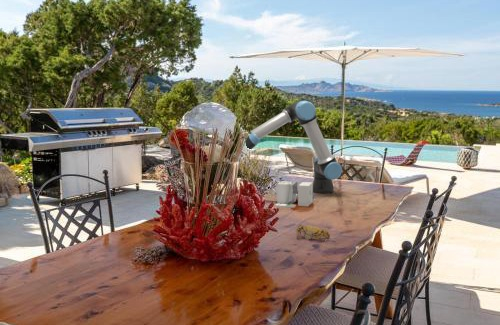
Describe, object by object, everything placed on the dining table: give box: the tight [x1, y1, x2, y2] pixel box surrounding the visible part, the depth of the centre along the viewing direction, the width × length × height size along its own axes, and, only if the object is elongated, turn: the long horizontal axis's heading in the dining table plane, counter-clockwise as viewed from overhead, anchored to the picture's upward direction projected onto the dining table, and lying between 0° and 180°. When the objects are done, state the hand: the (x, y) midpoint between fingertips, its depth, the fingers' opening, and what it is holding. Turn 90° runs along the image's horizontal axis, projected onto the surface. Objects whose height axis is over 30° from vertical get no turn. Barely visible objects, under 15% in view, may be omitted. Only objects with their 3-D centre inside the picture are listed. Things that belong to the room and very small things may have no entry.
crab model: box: [295, 224, 331, 242], centre depth 207 cm, size 16×13×6 cm
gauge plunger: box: [288, 181, 298, 205], centre depth 272 cm, size 10×18×12 cm, turn 161°
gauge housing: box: [274, 181, 314, 209], centre depth 273 cm, size 18×18×12 cm
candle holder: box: [275, 180, 293, 204], centre depth 278 cm, size 10×10×12 cm
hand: (274, 193), depth 280 cm, fingers closed
